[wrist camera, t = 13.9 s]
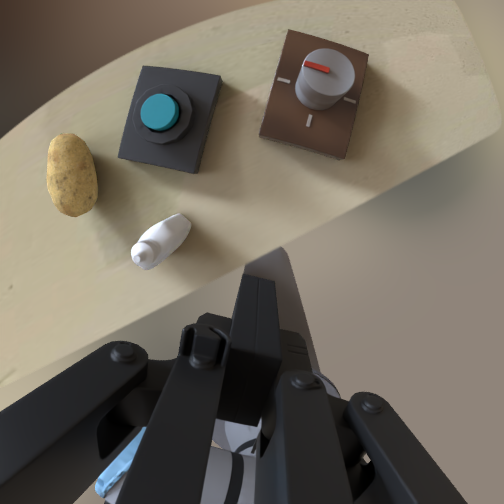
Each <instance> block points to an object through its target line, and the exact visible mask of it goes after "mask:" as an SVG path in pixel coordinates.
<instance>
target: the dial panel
mask: <svg viewBox="0 0 504 504" xmlns="http://www.w3.org/2000/svg"><path fill="white" fill-rule="evenodd" d="M318 49H332V50H336V51H338V52H340V53H342V54H343V55H345V56H346V57H347V58H348V59H349V61H350V62H351V64H352V65H353V68H354V71H355V81H354V84H353V86H352V87H351V89H350V90H349V91H348V92H346V93H345V94H344V95H343V96H342V97H341V98H340V99H339V100H338V101H337V102H336V103H335V104H334V105H333V106H331V107H330V108H328V109H325V110H313V109H310V108H308V107H306V106H305V105H304V104H302V103H301V102H300V100H299V99H298V97H297V95H296V91H295V85H296V82H297V79H298V76H299V73H300V71H301V68H302V65H303V62H304V60H305V58H306V57H307V56H308V55H309V54H310V53H311V52H313V51H315V50H318ZM368 56H369V54H366V53H364V52H361V51H358V50H356V49H353V48H350V47H347V46H344V45H341V44H338V43H335V42H332V41H329V40H325V39H322V38H319V37H315V36H312V35H308V34H305V33H301V32H297V31H293V30H289V29H288V32H287V35H286V39H285V42H284V45H283V49H282V52H281V56H280V59H279V63H278V66H277V70H276V73H275V77H274V80H273V84H272V88H271V91H270V95H269V98H268V102H267V106H266V109H265V113H264V116H263V120H262V124H261V128H260V131H259V137H260V138H264V139H268V140H272V141H276V142H279V143H283V144H287V145H290V146H294V147H297V148H301V149H304V150H308V151H311V152H314V153H318V154H321V155H324V156H327V157H331V158H334V159H337V160H344V159H345V156H346V152H347V148H348V144H349V140H350V136H351V132H352V128H353V124H354V120H355V116H356V112H357V107H358V103H359V98H360V94H361V90H362V85H363V80H364V76H365V71H366V66H367V61H368Z"/></svg>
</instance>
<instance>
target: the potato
mask: <svg viewBox="0 0 504 504" xmlns="http://www.w3.org/2000/svg"><path fill="white" fill-rule="evenodd" d="M47 186H48V190H49V193H50V195H51V197H52V200H53V203H54V205H55V206H56V208H57V209H58V210H59V211H60V212H61V213H63V214H66V215H68V216H71V217H77V216H80V215H82V214H84V213H87V212H88V211H89V210H91V209H92V207H93V205H94V204H95V202H96V200H97V195H98V184H97V177H96V172H95V167H94V162H93V157H92V155H91V153H90V150H89V148H88V147H87V145H86V143H85V142H84V141H83V140H82V139H81V138H79V137H78V136H76V135H75V134H60V135H58V136H57V137H56V138H55V139H53V140H52V141H51V144H50V147H49V150H48V166H47Z"/></svg>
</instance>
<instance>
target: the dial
mask: <svg viewBox="0 0 504 504" xmlns="http://www.w3.org/2000/svg"><path fill="white" fill-rule="evenodd" d="M354 81H355V71H354V68H353V65H352V64H351V62H350V61H349V59H348V58H347V57H346V56H345V55H343V54H342V53H340V52H338V51H336V50H332V49H318V50H315V51H313V52H311V53H310V54H309V55H308V56H307V57H306V58H305V60H304V62H303V65H302V68H301V71H300V73H299V76H298V79H297V82H296V85H295V91H296V95H297V97H298V99H299V100H300V102H301V103H302V104H304V105H305V106H306V107H308V108H310V109H313V110H325V109H328V108H330V107H331V106H333V105H334V104H335V103H336V102H337V101H338V100H339V99H340V98H341V97H342V96H343V95H344V94H345V93H346V92H348V91H349V90H350V89H351V87H352V86H353V84H354Z"/></svg>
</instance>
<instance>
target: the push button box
mask: <svg viewBox="0 0 504 504" xmlns="http://www.w3.org/2000/svg"><path fill="white" fill-rule="evenodd" d="M222 82H223V81H222V78H221V76H219V75H213V74H207V73H201V72H194V71H187V70H180V69H172V68H163V67H153V66H143V67H142V70H141V73H140V76H139V79H138V82H137V85H136V89H135V92H134V95H133V99H132V102H131V106H130V109H129V113H128V117H127V120H126V124H125V128H124V132H123V136H122V140H121V145H120V149H119V153H118V158H121V159H126V160H131V161H136V162H141V163H146V164H151V165H156V166H161V167H165V168H170V169H175V170H179V171H184V172H188V173H193V174H197V173H198V170H199V166H200V162H201V158H202V154H203V150H204V146H205V142H206V139H207V135H208V131H209V127H210V124H211V120H212V117H213V113H214V109H215V106H216V102H217V99H218V95H219V92H220V89H221V85H222ZM156 94H165V95H168V96H169V97H171V98H172V99H173V100H174V101H175V102H176V103H177V104H178V107H179V117H178V119H177V121H176V123H175V124H174V125H173V126H172V127H171V128H169V129H167V130H163V131H158V130H154V129H152V128H149V127H147V126H146V125H145V124H144V123H143V121H142V119H141V108H142V106H143V104H144V102H145V101H146V100H147V99H148V98H149V97H151V96H153V95H156Z"/></svg>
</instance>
